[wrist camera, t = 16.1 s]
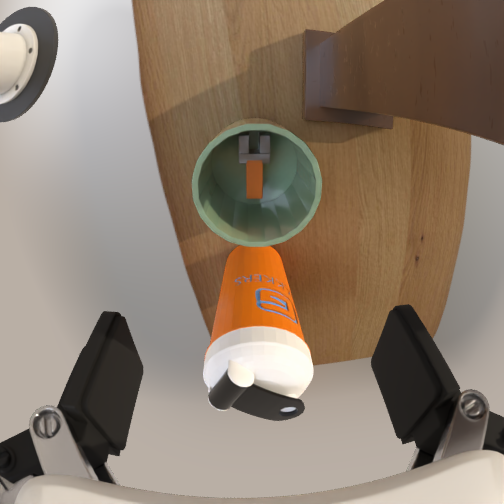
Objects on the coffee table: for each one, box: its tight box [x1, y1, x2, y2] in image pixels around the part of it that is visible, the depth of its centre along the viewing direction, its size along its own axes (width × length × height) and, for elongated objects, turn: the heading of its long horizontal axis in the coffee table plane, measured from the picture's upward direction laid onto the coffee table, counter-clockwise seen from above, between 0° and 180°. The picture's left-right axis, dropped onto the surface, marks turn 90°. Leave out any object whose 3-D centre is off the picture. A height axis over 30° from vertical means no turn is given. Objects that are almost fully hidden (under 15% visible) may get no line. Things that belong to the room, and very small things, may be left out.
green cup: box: [192, 118, 322, 247], centre depth 26 cm, size 10×10×10 cm
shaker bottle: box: [203, 245, 313, 421], centre depth 28 cm, size 9×9×20 cm
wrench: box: [238, 132, 271, 199], centre depth 29 cm, size 6×3×3 cm, turn 0°
